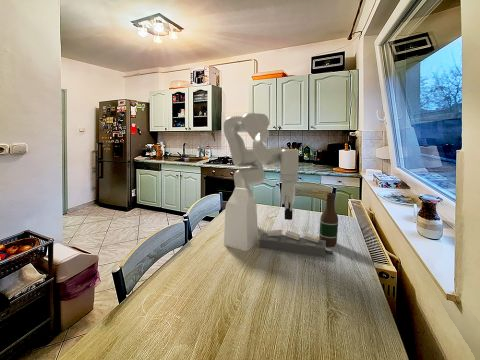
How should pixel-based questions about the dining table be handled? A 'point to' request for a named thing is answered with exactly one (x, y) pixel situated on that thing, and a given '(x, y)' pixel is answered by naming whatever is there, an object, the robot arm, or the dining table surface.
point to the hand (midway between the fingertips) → (288, 219)
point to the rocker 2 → (311, 237)
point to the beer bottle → (329, 223)
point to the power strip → (293, 245)
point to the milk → (241, 220)
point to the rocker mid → (292, 235)
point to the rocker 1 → (274, 232)
